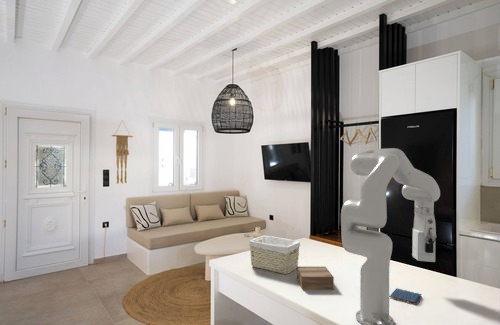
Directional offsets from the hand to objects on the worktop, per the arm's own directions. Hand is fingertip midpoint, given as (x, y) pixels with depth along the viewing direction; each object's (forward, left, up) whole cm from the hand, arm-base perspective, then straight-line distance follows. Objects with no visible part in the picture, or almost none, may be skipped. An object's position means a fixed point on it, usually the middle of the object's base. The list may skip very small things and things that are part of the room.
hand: (423, 249), depth 138 cm
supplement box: (0, 0, -4) cm, 4 cm away
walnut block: (+6, +48, -18) cm, 51 cm away
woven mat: (-9, +13, -18) cm, 24 cm away
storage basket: (+29, +64, -18) cm, 73 cm away
